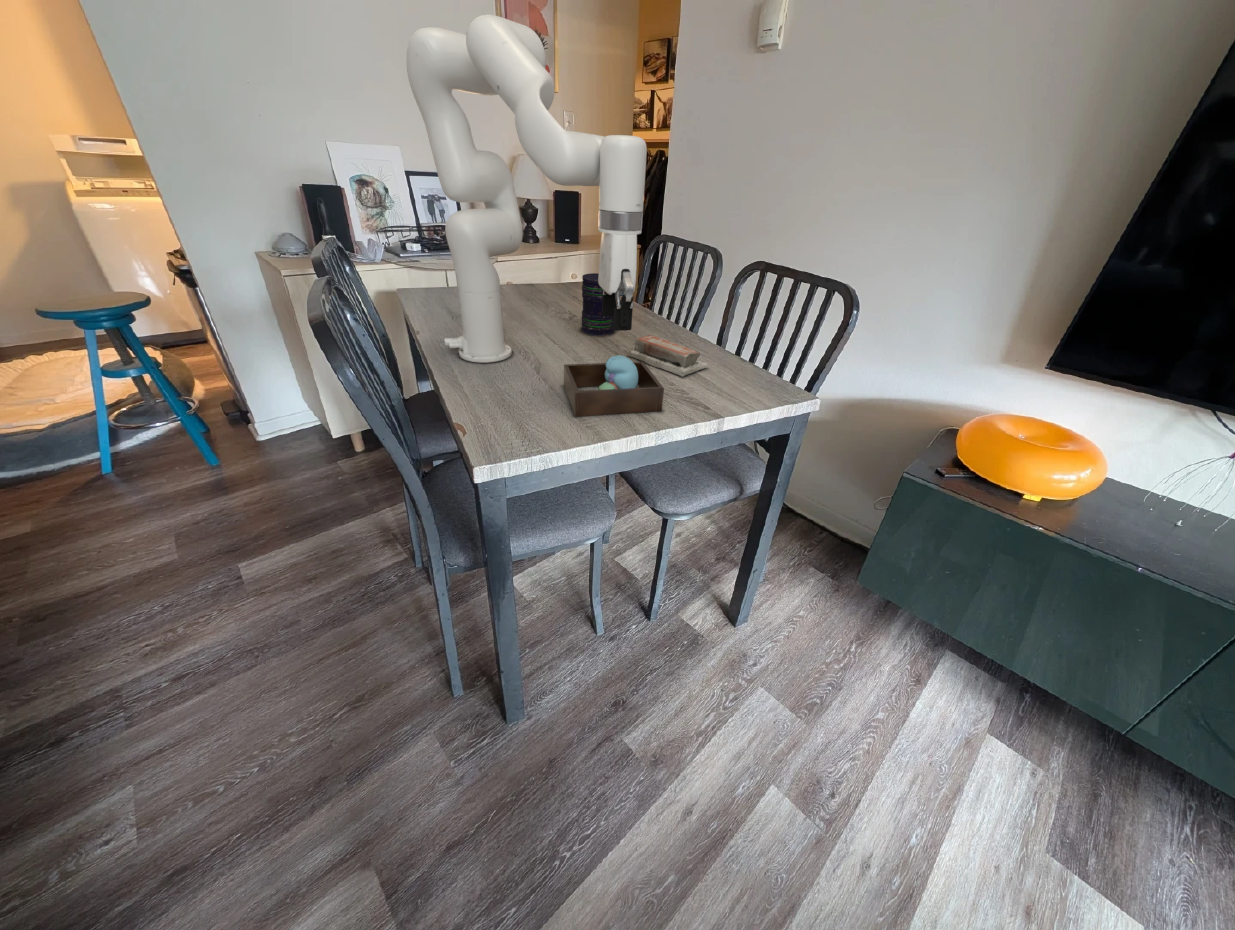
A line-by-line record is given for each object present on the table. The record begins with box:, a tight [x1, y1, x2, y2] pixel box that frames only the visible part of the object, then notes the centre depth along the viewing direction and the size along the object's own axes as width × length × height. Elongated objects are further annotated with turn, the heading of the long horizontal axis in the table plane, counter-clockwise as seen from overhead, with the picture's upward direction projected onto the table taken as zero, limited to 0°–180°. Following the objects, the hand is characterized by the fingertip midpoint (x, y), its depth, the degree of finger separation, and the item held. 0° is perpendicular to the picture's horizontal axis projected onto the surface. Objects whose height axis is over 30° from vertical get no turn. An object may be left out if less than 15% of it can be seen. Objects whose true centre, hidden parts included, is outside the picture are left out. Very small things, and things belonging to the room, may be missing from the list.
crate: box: [563, 361, 665, 417], centre depth 98 cm, size 18×15×5 cm
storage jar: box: [580, 272, 616, 337], centre depth 134 cm, size 10×10×15 cm
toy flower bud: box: [597, 354, 639, 390], centre depth 97 cm, size 7×9×12 cm
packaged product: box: [628, 334, 709, 378], centre depth 117 cm, size 18×5×10 cm
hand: (616, 322), depth 90 cm, fingers open, 9 cm apart
